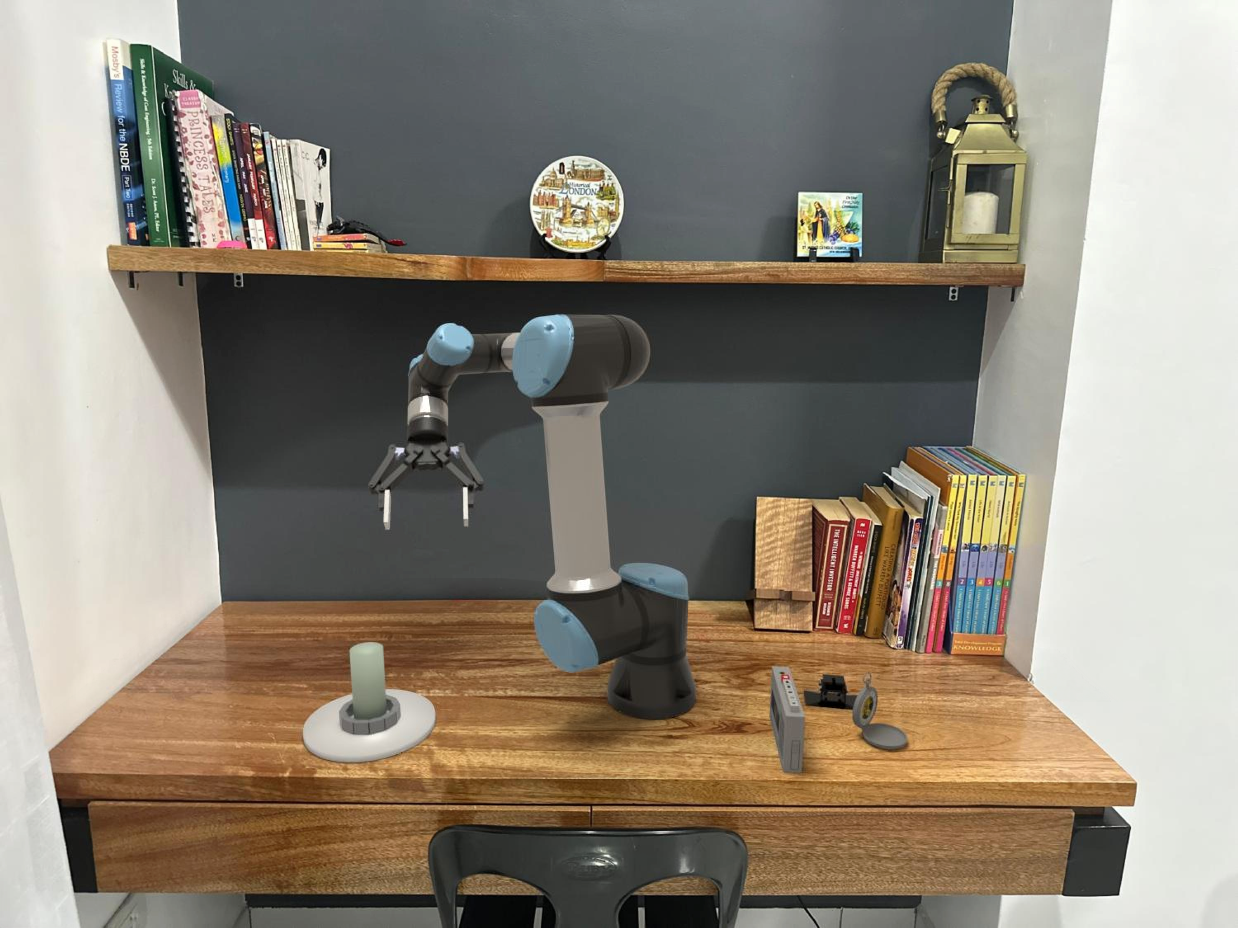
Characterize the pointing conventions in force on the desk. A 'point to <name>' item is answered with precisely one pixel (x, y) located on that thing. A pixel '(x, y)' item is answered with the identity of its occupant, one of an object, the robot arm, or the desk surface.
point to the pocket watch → (875, 732)
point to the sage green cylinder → (368, 680)
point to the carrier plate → (372, 744)
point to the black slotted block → (831, 694)
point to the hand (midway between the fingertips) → (426, 524)
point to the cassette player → (787, 720)
